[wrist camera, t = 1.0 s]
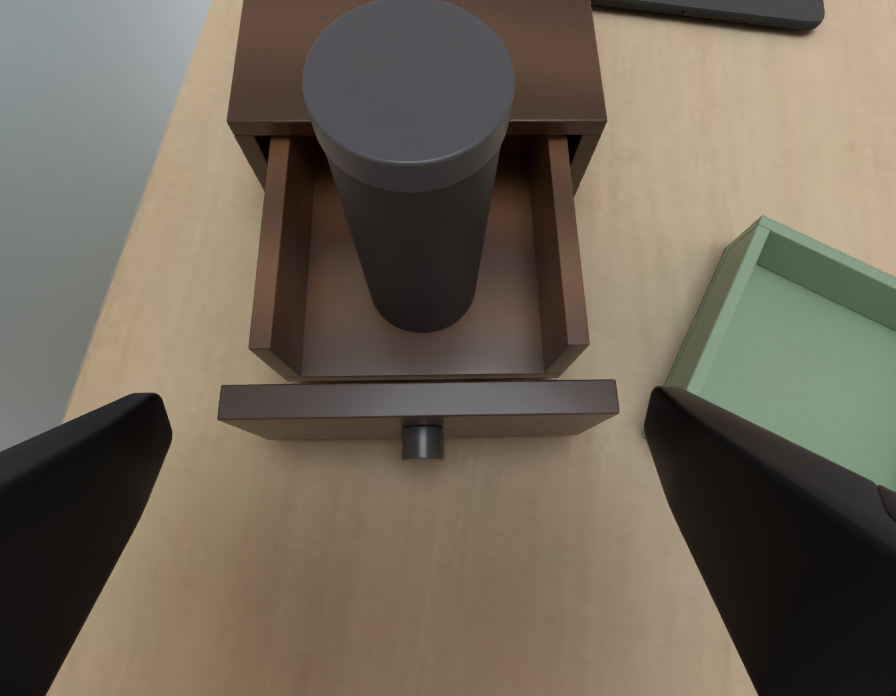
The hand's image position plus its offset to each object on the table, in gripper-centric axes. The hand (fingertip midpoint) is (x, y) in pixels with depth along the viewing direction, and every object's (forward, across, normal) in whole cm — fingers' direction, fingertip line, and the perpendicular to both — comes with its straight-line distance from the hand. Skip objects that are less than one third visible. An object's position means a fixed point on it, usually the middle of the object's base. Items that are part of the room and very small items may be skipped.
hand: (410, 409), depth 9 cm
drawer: (+14, 0, +4) cm, 15 cm away
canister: (+14, 0, +3) cm, 14 cm away
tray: (+12, -17, +8) cm, 22 cm away
